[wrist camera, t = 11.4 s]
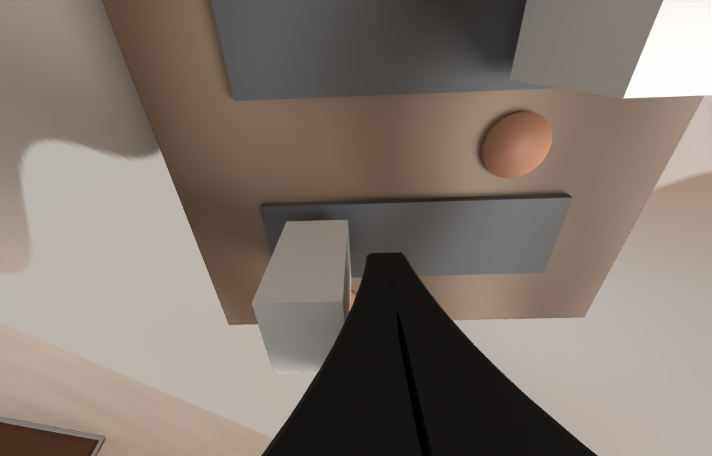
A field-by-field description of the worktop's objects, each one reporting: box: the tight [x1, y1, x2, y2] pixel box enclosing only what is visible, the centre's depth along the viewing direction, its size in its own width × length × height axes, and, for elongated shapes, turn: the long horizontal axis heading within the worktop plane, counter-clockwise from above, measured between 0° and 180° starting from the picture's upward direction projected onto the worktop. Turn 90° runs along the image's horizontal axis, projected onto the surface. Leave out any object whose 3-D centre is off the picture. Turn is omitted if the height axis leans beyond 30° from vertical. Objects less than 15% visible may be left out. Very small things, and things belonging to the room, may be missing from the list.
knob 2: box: [510, 0, 712, 98], centre depth 5 cm, size 2×3×4 cm
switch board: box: [102, 0, 704, 325], centre depth 8 cm, size 16×22×2 cm
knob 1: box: [252, 220, 351, 373], centre depth 8 cm, size 2×3×4 cm
